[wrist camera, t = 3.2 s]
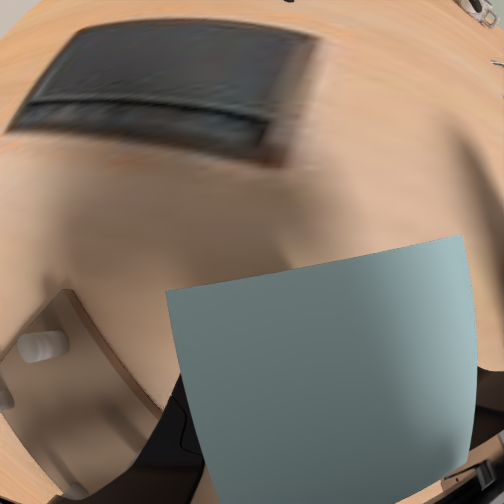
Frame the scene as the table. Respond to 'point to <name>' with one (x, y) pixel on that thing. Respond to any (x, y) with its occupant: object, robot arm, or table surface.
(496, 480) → the robot arm
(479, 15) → the mug
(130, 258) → the table surface
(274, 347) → the block
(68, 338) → the pin stand
